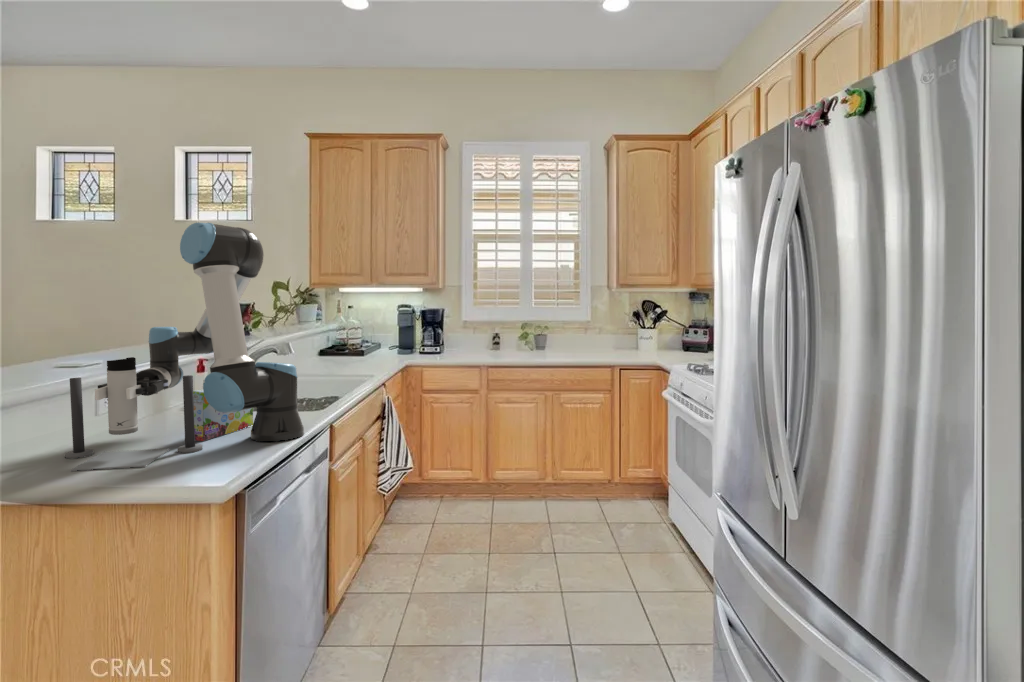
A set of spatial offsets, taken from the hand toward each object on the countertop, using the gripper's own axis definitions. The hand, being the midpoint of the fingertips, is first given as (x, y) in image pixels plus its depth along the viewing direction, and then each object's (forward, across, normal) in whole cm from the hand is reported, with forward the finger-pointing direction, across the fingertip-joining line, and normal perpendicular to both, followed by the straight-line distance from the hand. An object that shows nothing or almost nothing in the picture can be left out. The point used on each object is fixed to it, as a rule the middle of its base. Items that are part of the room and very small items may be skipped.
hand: (112, 394), depth 137 cm
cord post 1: (-10, +13, -18) cm, 24 cm away
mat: (-3, 0, -18) cm, 18 cm away
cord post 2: (-10, -14, -18) cm, 25 cm away
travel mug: (-5, 0, -11) cm, 12 cm away
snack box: (-30, -17, -18) cm, 39 cm away
